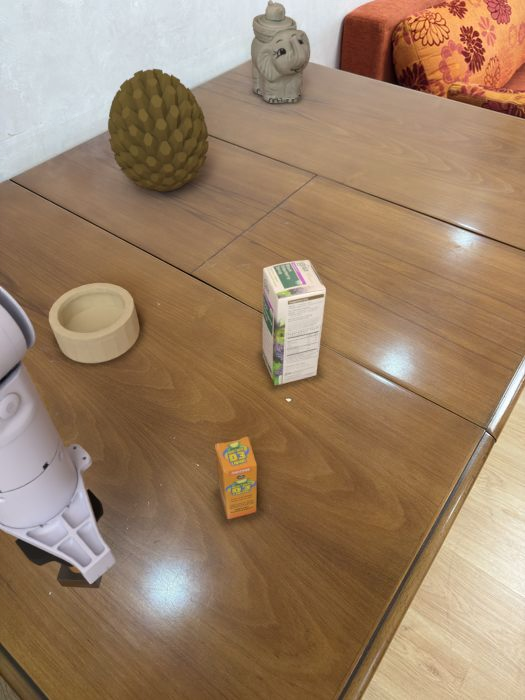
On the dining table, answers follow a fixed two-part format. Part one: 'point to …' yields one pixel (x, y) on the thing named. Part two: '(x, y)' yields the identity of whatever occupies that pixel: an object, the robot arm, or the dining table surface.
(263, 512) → the dining table surface
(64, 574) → the wooden handle stamp
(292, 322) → the syrup box
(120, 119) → the decorative object
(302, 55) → the grey elephant figurine
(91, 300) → the cream ceramic ramekin
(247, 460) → the supplement box
